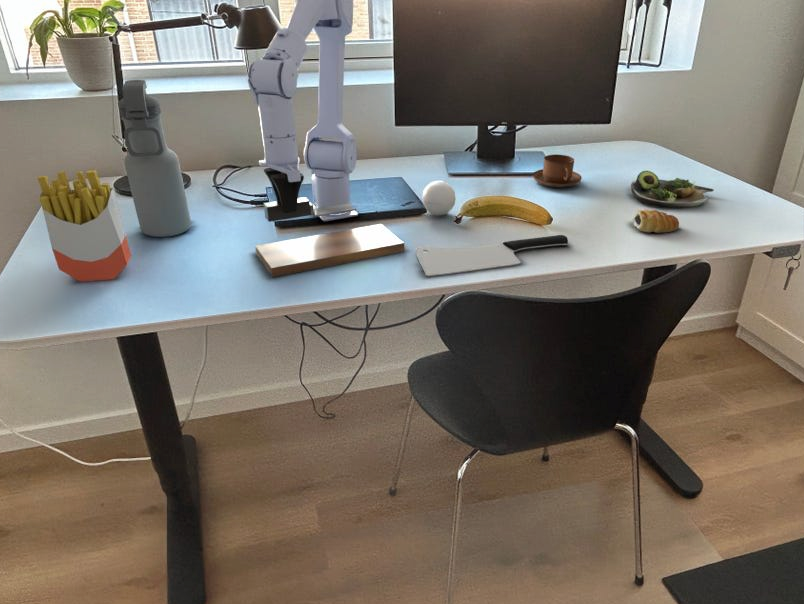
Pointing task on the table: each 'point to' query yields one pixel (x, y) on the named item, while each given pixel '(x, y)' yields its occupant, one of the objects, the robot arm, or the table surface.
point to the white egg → (438, 198)
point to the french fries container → (84, 227)
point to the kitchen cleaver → (480, 255)
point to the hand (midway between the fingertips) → (287, 209)
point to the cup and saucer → (557, 172)
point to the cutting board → (328, 249)
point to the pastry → (655, 221)
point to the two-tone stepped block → (302, 210)
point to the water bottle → (152, 165)
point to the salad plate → (667, 191)
